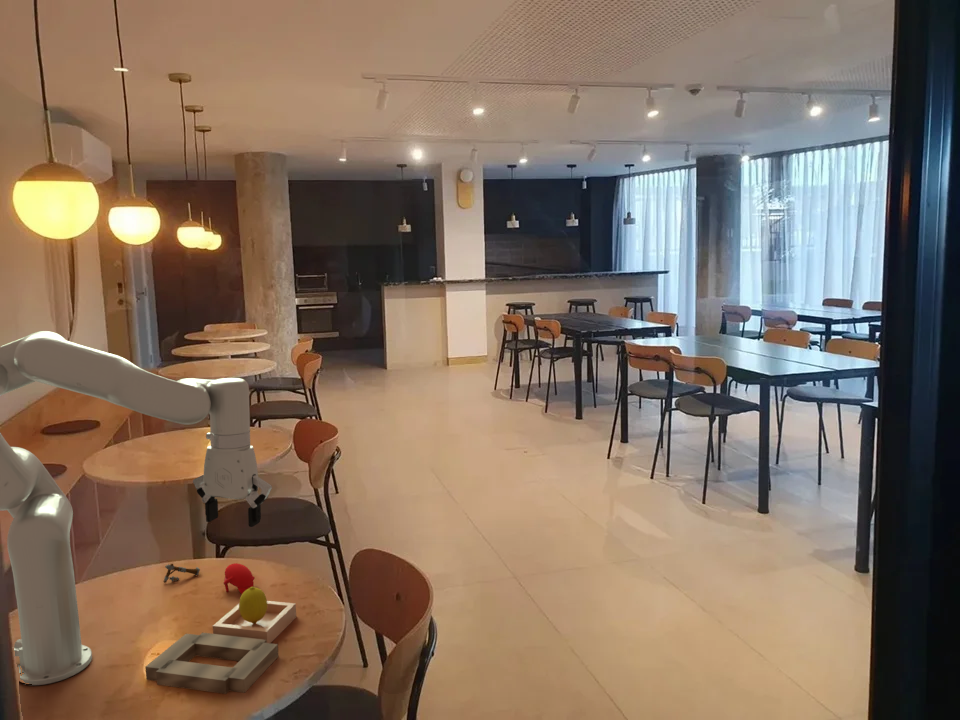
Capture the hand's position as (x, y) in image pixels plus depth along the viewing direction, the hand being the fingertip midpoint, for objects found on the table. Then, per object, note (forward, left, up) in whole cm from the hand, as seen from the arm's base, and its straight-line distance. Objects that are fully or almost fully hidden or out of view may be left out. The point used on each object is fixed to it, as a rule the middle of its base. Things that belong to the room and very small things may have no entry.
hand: (233, 522), depth 149 cm
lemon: (+3, 0, -22) cm, 22 cm away
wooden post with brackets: (-26, +18, -23) cm, 39 cm away
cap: (-10, +15, -23) cm, 29 cm away
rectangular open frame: (+3, -15, -23) cm, 27 cm away
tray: (+3, 0, -23) cm, 23 cm away
